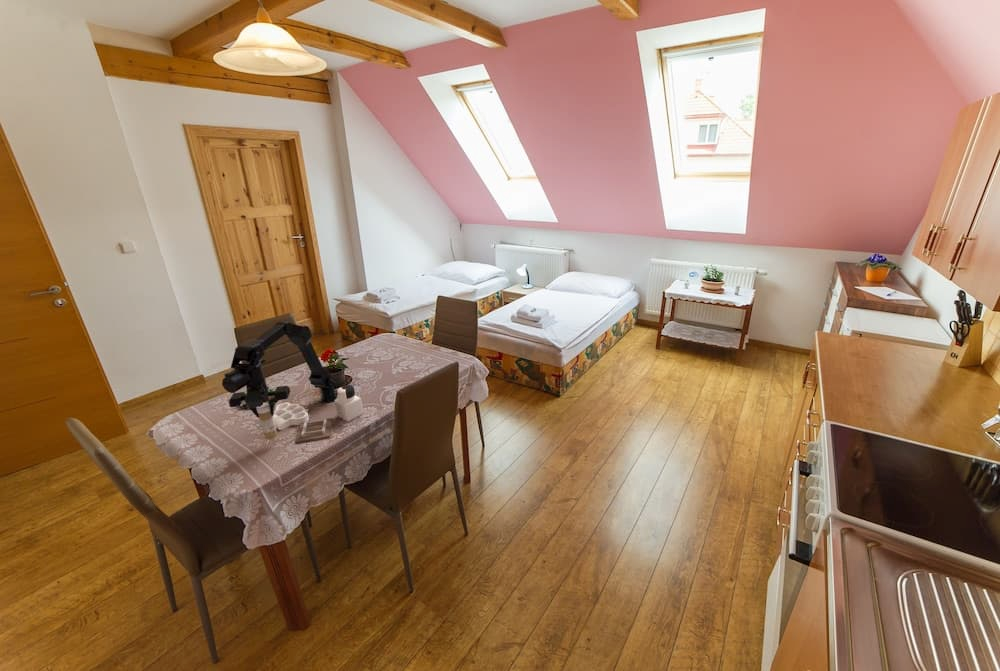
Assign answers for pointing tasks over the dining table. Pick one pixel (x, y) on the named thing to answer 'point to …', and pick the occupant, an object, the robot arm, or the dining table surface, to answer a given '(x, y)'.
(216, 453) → the dining table surface
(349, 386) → the container
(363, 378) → the dining table surface
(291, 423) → the white compartment tray
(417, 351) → the dining table surface
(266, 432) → the sprinkles bottle
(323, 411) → the dining table surface
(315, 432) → the brown flat square frame
